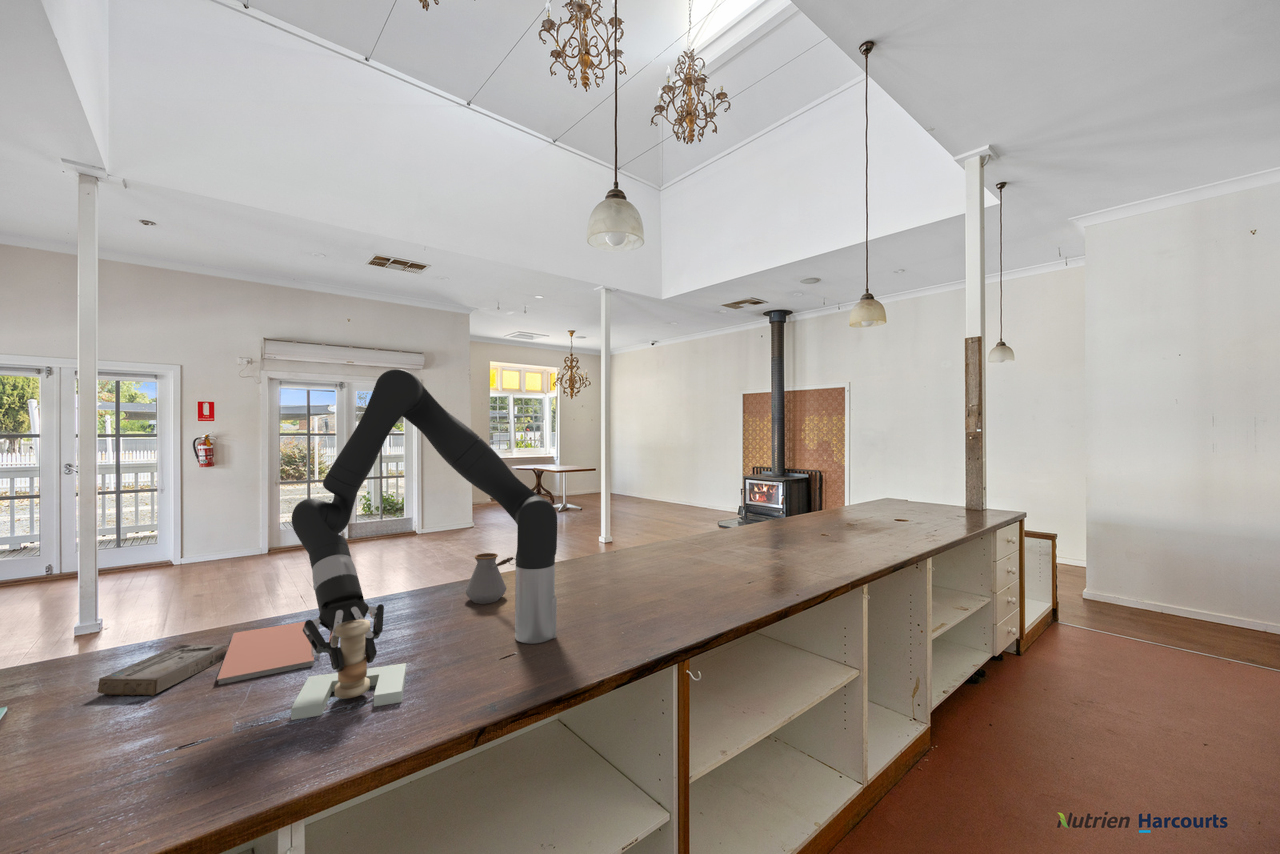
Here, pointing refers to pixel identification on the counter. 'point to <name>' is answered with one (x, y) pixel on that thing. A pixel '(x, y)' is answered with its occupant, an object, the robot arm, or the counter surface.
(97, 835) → the counter surface
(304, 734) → the counter surface
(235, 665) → the notebook
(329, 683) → the notched board
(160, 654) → the box
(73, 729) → the counter surface
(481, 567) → the coffee pot
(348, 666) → the bobbin
